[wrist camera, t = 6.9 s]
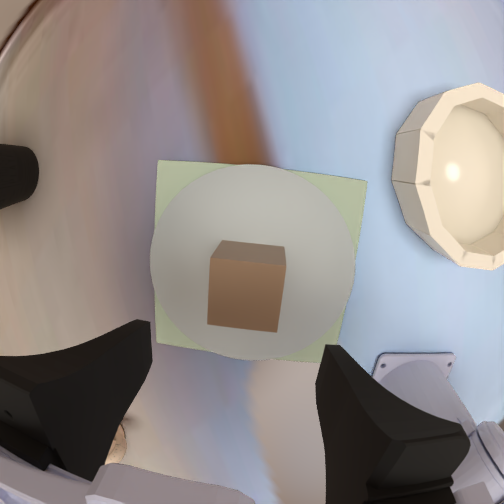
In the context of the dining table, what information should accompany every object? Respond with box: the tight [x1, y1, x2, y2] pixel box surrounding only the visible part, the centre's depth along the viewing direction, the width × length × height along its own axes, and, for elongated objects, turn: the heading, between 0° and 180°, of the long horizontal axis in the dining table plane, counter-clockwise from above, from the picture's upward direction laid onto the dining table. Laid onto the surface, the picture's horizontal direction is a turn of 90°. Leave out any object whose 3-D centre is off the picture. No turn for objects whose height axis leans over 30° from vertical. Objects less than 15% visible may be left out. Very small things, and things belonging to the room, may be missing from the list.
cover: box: [150, 164, 355, 361], centre depth 19 cm, size 14×14×5 cm
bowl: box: [391, 83, 504, 270], centre depth 17 cm, size 12×12×4 cm
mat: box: [154, 160, 367, 363], centre depth 22 cm, size 14×14×1 cm
